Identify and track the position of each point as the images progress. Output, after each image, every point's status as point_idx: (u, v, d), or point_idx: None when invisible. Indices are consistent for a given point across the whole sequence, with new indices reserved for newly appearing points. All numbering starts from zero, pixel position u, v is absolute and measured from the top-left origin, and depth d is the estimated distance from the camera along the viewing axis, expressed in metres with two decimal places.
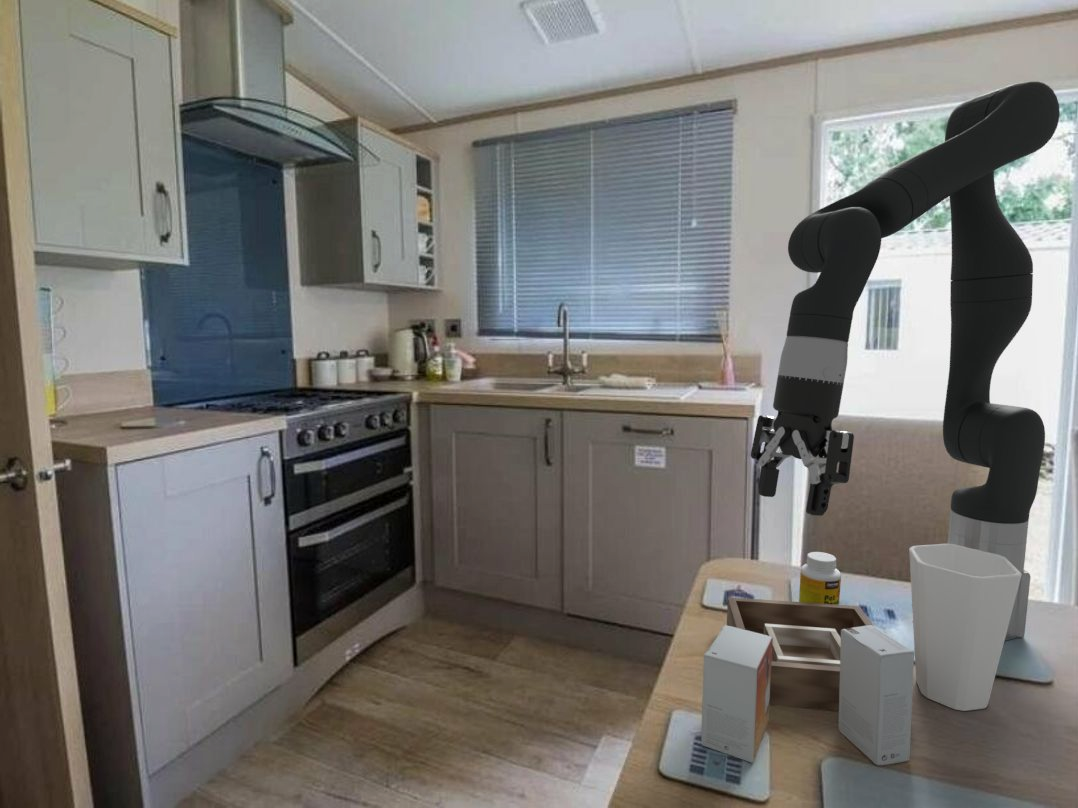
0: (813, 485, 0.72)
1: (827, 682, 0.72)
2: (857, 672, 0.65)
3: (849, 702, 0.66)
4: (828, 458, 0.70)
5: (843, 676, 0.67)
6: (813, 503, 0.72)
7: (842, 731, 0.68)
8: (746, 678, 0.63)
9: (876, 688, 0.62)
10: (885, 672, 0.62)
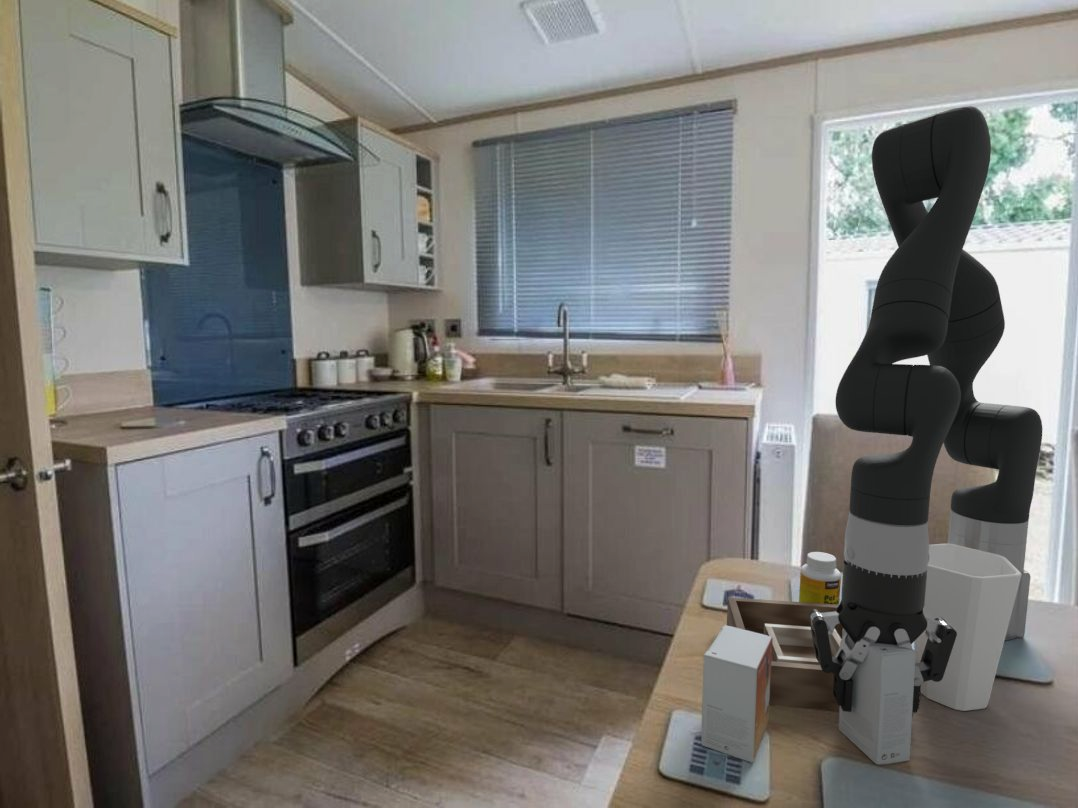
0: None
1: (827, 682, 0.72)
2: (858, 671, 0.65)
3: None
4: (939, 657, 0.63)
5: None
6: (913, 705, 0.64)
7: (842, 730, 0.68)
8: (745, 678, 0.63)
9: (876, 686, 0.62)
10: (886, 671, 0.62)
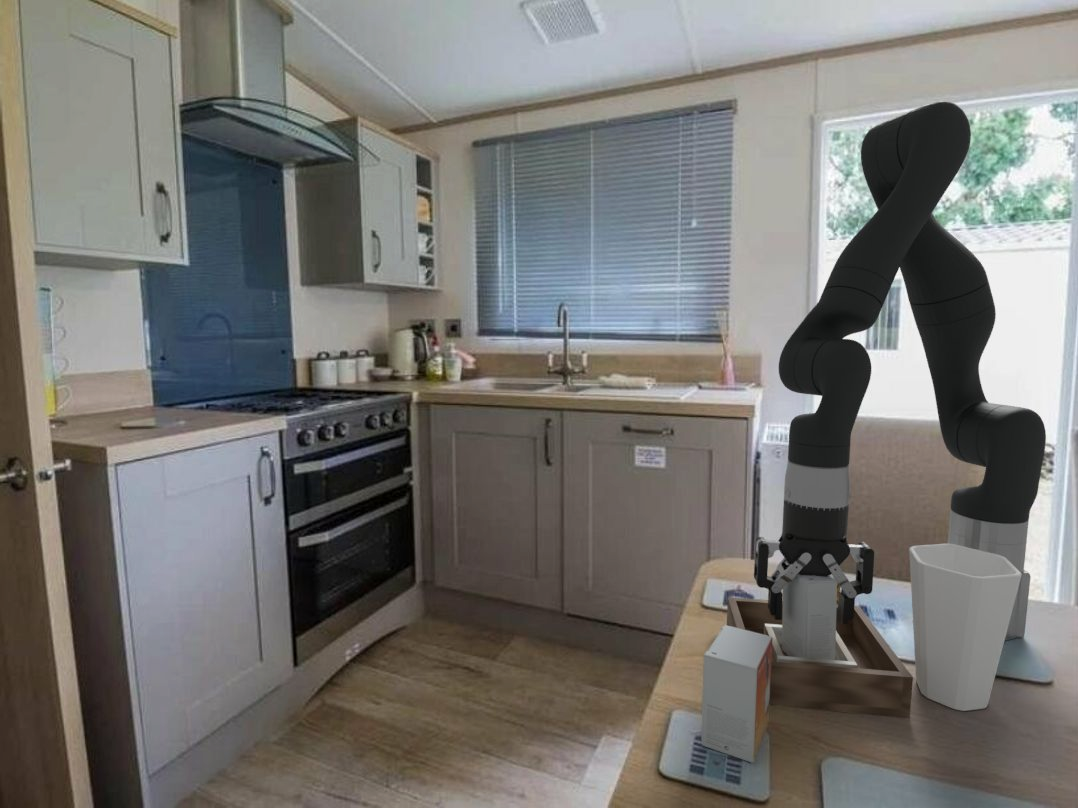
0: (848, 599, 0.78)
1: (827, 682, 0.72)
2: (793, 599, 0.80)
3: (788, 625, 0.81)
4: (865, 573, 0.77)
5: (784, 604, 0.82)
6: (848, 614, 0.78)
7: (784, 650, 0.83)
8: (745, 678, 0.63)
9: (804, 609, 0.77)
10: (812, 596, 0.77)
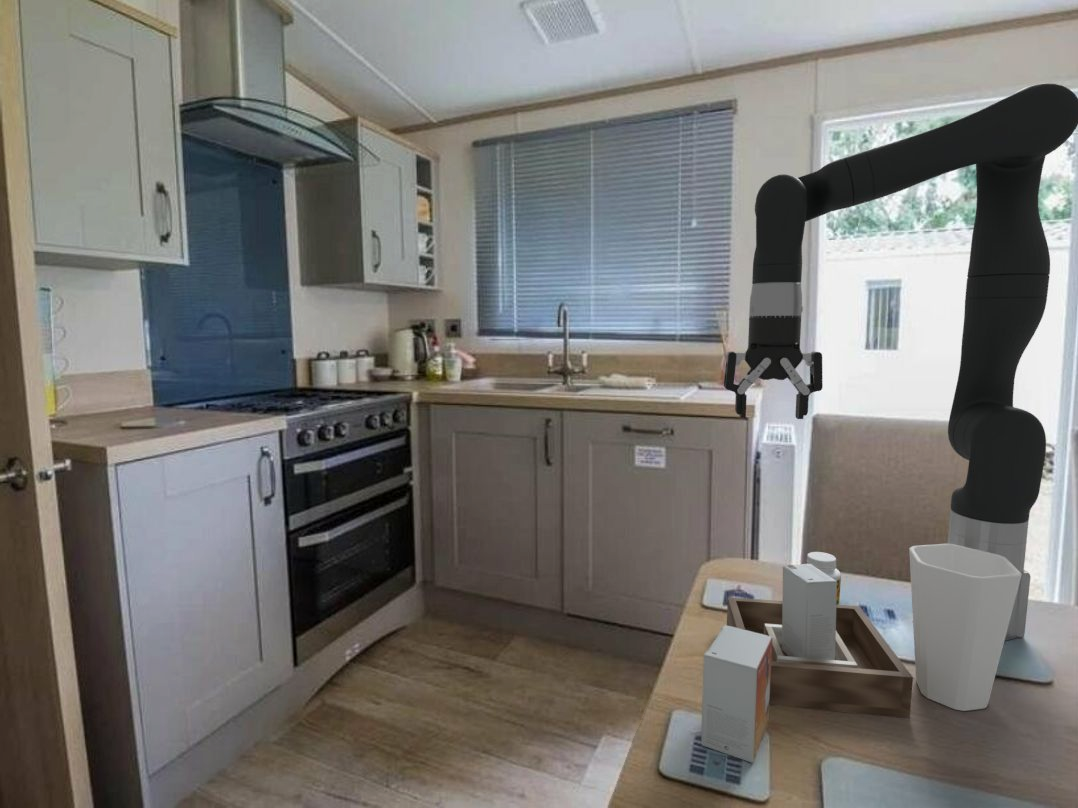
0: (803, 396, 0.95)
1: (827, 682, 0.72)
2: (793, 599, 0.80)
3: (788, 625, 0.81)
4: (815, 373, 0.94)
5: (784, 604, 0.82)
6: (803, 410, 0.95)
7: (784, 650, 0.83)
8: (745, 678, 0.63)
9: (804, 609, 0.77)
10: (812, 596, 0.77)
